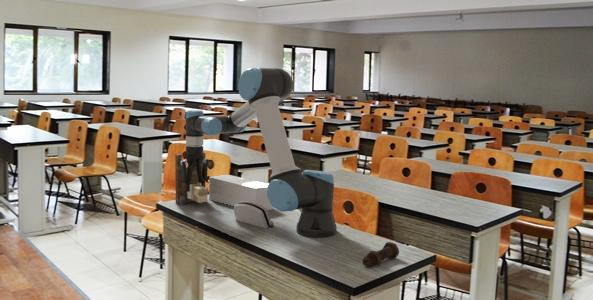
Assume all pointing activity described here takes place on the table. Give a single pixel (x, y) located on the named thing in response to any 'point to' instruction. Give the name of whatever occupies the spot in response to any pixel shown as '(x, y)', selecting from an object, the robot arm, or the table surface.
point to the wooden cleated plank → (181, 186)
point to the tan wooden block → (199, 193)
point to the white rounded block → (252, 214)
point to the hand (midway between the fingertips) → (194, 197)
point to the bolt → (381, 255)
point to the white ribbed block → (238, 191)
